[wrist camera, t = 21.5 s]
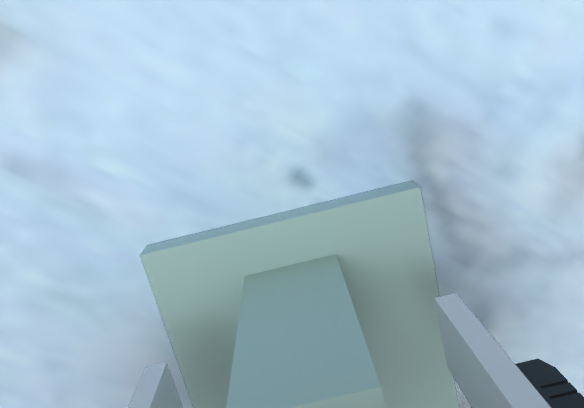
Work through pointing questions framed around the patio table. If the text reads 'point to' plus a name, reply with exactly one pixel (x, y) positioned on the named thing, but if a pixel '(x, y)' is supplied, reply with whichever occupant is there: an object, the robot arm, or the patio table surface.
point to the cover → (308, 307)
